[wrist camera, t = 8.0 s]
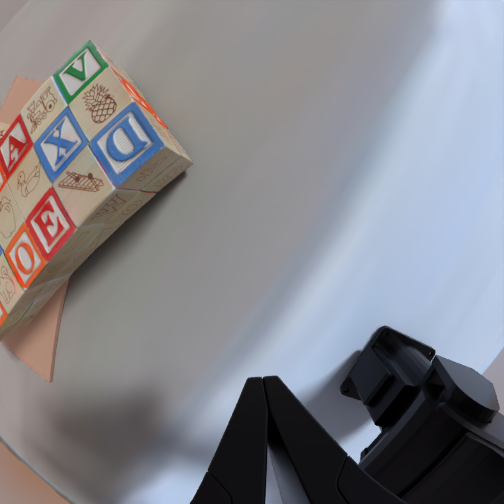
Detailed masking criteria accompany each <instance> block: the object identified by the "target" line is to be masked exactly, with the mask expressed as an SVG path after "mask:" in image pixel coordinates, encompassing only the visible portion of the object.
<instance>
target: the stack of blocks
mask: <svg viewBox="0 0 504 504" xmlns="http://www.w3.org/2000/svg"><path fill="white" fill-rule="evenodd" d="M192 164H193V162H192V161H191V159H190V158H189V156H188V155H187V153H186V152H185V151H184V149H183V148H182V147H181V145H180V144H179V143H178V142H177V140H176V139H175V138H174V137H173V135H172V134H171V133H170V132H169V131H168V128H167V126H166V125H165V124H164V123H163V121H162V120H161V119H160V117H159V116H158V115H157V114H156V112H155V111H154V110H153V108H152V107H151V106H150V105H149V104H148V102H147V101H146V99H145V97H144V96H143V95H142V93H141V92H140V91H139V89H138V88H137V87H136V85H135V84H134V82H133V81H132V80H131V79H130V77H129V76H128V75H127V74H126V73H125V72H124V71H123V70H122V69H121V68H120V67H119V66H117V65H116V64H115V63H114V62H113V61H112V60H111V58H110V57H109V56H107V55H106V54H105V53H104V52H103V51H102V50H101V49H100V48H99V47H98V46H97V45H95V44H94V43H93V42H92V41H91V40H89V41H88V42H86V43H85V44H84V45H83V46H82V47H81V48H80V49H79V50H78V51H77V52H75V53H74V54H73V55H72V56H71V57H70V58H69V59H68V60H67V61H66V62H65V63H64V64H63V65H62V66H61V67H60V68H59V69H58V70H57V71H56V72H55V73H54V75H52V76H51V77H49V78H48V79H47V80H46V82H45V83H44V84H43V85H42V86H41V87H40V88H39V89H38V91H37V92H36V93H35V94H34V95H33V96H32V98H31V99H30V100H29V101H28V102H27V104H26V105H25V106H24V107H23V109H22V110H21V112H20V114H19V115H18V116H17V118H16V119H15V120H14V122H13V123H12V124H11V125H9V124H5V123H2V122H0V341H1V340H3V339H4V338H6V337H8V336H9V335H11V334H13V333H15V332H16V331H18V330H20V329H21V328H23V327H25V326H26V325H28V324H29V323H30V322H31V321H32V319H33V318H34V317H35V316H36V315H37V313H38V312H39V311H40V309H41V308H42V307H43V306H44V305H45V304H46V303H47V301H48V300H49V299H50V298H51V297H52V296H53V294H54V293H55V292H56V291H57V290H58V289H59V287H60V286H61V285H62V284H63V283H64V282H65V281H66V280H67V279H68V278H69V277H70V275H71V274H72V273H73V272H74V271H75V270H76V269H77V268H78V267H79V266H80V265H81V264H82V263H83V262H84V261H85V260H86V259H87V258H88V257H89V256H90V255H91V254H92V253H93V252H94V251H95V250H96V248H97V247H99V246H100V245H101V244H102V243H103V242H104V241H105V240H106V239H107V238H108V237H109V236H110V235H112V234H113V233H114V232H115V231H116V230H117V229H118V228H119V227H120V226H121V225H122V224H123V223H124V222H125V220H127V219H128V218H130V217H131V216H132V215H133V214H134V213H135V212H137V211H138V210H139V209H140V208H141V207H142V206H143V205H144V204H145V203H147V202H148V201H149V200H150V199H151V198H152V197H153V196H155V195H156V192H158V191H160V190H161V189H162V188H163V187H164V186H166V185H167V184H168V183H169V182H171V181H172V180H173V179H174V178H176V177H177V176H178V175H179V174H181V173H182V172H183V171H184V170H186V169H187V168H188V167H190V166H191V165H192Z"/></svg>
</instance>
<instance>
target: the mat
mask: <svg viewBox="0 0 504 504" xmlns="http://www.w3.org/2000/svg"><path fill="white" fill-rule="evenodd" d="M43 84H44V83H43V82H39V81H35V80H31V79H27V78H23V77H18V76H16V78H15V80H14V82H13V84H12V86H11V88H10V90H9V92H8V94H7V96H6V99H5V101H4V103H3V105H2V108H1V110H0V122H2V123H5V124H9V125H11V124H12V123H13V122H14V120H15V119H16V118H17V116H18V115H19V114H20V112H21V110H22V109H23V107H24V106H25V105H26V104H27V102H28V101H29V100H30V99H31V98H32V96H33V95H34V94H35V93H36V92H37V91H38V89H39V88H40V87H41V86H42V85H43ZM69 279H70V277H69V278H68V279H67V280H66V281H65V282H64V283H63V284H62V285H61V286H60V287H59V289H58V290H57V291H56V292H55V293H54V294H53V296H52V297H51V298H50V299H49V300H48V301H47V303H46V304H45V305H44V306H43V307H42V308H41V309H40V311H39V312H38V313H37V315H36V316H35V317H34V318H33V319H32V321H31V322H30V323H29V324H28V325H26V326H25V327H23V328H21V329H20V330H18V331H16V332H15V333H13V334H11V335H9V336H8V337H6V338H4V339H3V340H1V342H2V343H3V344H4V345H5V346H6V347H7V348H8V349H9V350H10V351H12V352H13V353H14V354H15V355H16V356H17V357H18V358H19V359H21V360H22V361H23V362H24V363H25V364H26V365H28V366H29V367H30V368H31V369H32V370H34V371H35V372H36V373H37V374H39V375H40V376H41V377H42V378H44V379H45V380H46V381H48V382H49V383H50V382H51V381H52V379H53V369H54V360H55V352H56V345H57V339H58V332H59V326H60V321H61V315H62V310H63V305H64V301H65V296H66V291H67V287H68V283H69Z"/></svg>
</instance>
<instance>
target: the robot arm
mask: <svg viewBox="0 0 504 504" xmlns="http://www.w3.org/2000/svg"><path fill="white" fill-rule="evenodd" d="M385 331H387V333H386V334H385V335H383V333H384V332H385ZM430 352H431V353H430ZM429 353H430V354H429ZM434 356H435V357H434ZM433 357H434V359H433ZM432 359H433V360H432ZM431 360H432V362H431ZM346 388H348V389H347V390H345V389H346ZM340 391H341V393H342V394H343V395H345V396H348V397H351V398H354V399H358V400H361V401H362V402H363V404H364V405H365V406H366V407H367V409H368V411H369V413H370V415H371V418H372V420H373V422H374V424H375V425H376V426H379V428H380V430H381V433H380V434H379V435H378V437H377V438H376V439H375V440H374V441H373V442H372V443H371V444H370V445H369V447H368V448H365V449H364V450H363V451H362V452H361V457H360V462H359V464H357V463H356V462H355V461H354V460H353V459H352V458H351V457H350V456H347V455H348V454H347V453H346V452H345V451H344V450H343V449H342V448H341V447H340V445H339V444H338V443H337V442H336V441H335V440H334V439H333V438H332V437H331V436H330V435H329V434H328V433H327V431H326V430H325V429H324V428H323V427H322V426H321V425H320V424H319V423H318V422H317V420H316V419H315V418H314V417H313V416H312V415H311V414H310V413H309V411H308V410H307V409H306V408H305V407H304V406H303V405H302V404H301V402H300V401H299V400H298V399H297V398H296V397H295V395H294V394H293V393H292V392H291V391H290V390H289V389H288V387H287V386H286V385H285V384H284V383H283V381H282V380H281V379H280V378H279V377H278V376H265V377H263V379H262V377H250V378H248V379H247V380H246V383H245V385H244V388H243V390H242V392H241V395H240V397H239V400H238V402H237V404H236V407H235V409H234V411H233V414H232V416H231V418H230V421H229V423H228V425H227V428H226V430H225V432H224V434H223V437H222V439H221V441H220V443H219V446H218V448H217V450H216V452H215V455H214V457H213V459H212V461H211V463H210V466H209V468H208V472H206V474H205V476H204V478H203V480H202V482H201V484H200V486H199V488H198V490H197V492H196V494H195V496H194V498H193V499H192V501H191V502H190V504H265V497H266V474H267V448H268V449H269V453H270V457H271V461H272V465H273V468H274V472H275V476H276V479H277V483H278V487H279V490H280V494H281V498H282V501H283V504H504V416H503V415H502V414H500V413H499V412H498V410H499V409H500V408H499V403H498V400H497V396H496V393H495V390H494V386H493V384H492V383H491V382H490V381H488V380H487V379H486V378H485V377H483V376H482V375H481V374H479V373H478V372H477V371H475V370H474V369H472V368H469V367H467V366H464V365H462V364H459V363H456V362H454V361H451V360H449V359H446V358H443V357H441V356H438V355H435V350H434V349H433V348H432V347H430V346H428V345H426V344H424V343H422V342H420V341H417V340H415V339H413V338H411V337H409V336H407V335H405V334H403V333H401V332H399V331H397V330H394V329H392V328H390V327H388V326H383V327H381V328H380V329H379V331H378V333H377V334H376V336H375V337H374V339H373V340H372V342H371V344H370V345H369V347H368V348H366V349H365V351H364V353H363V354H362V356H361V357H360V358H359V360H358V361H357V363H356V364H355V366H354V367H353V369H352V370H351V371H350V373H349V376H348V377H347V379H346V380H345V381H344V383H343V384H342V385H341V387H340Z"/></svg>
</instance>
